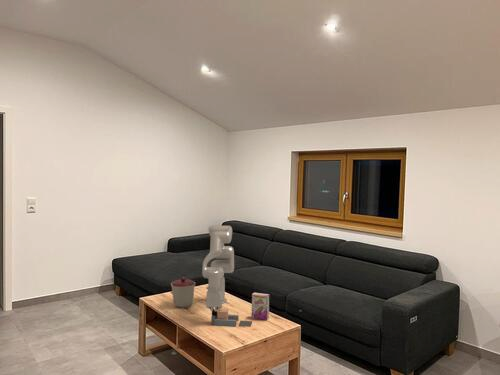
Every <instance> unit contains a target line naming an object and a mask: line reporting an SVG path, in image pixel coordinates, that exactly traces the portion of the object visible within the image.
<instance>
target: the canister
mask: <svg viewBox="0 0 500 375" xmlns="http://www.w3.org/2000/svg"><path fill="white" fill-rule="evenodd" d="M170 286H171V292H172V300H173V304H174V306H175V307H177V308H188V307H190V306H192V304H193V301H194V295H195V294H194V293H195V286H196V282H195V281H194V280H192V279H189V278H188V279H186V277H185V276H182V277H180V279H177V280H174V281H172V282H171V283H170Z"/></svg>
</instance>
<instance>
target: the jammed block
mask: <svg viewBox="0 0 500 375" xmlns="http://www.w3.org/2000/svg"><path fill="white" fill-rule="evenodd" d="M228 314H229V308H223V307H222V308H220V309H218V310H217V319H228Z"/></svg>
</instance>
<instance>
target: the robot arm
mask: <svg viewBox="0 0 500 375" xmlns="http://www.w3.org/2000/svg"><path fill="white" fill-rule="evenodd" d="M208 235H209V236H210V243H209V244H210V245H209V247H210V248H209V253H208V254H207V255H206V256H205V258H204V260H203V262H202V267H201V268H202V271H201V272H202V273H201V275H202V277H203V278H204V279H207V280H208V284H207V286H206V287H205V288H206V290H207V292H206V297H205V308H207V309H209V310H210V311H211V317H212V316H216V315H217V311H218V310H219V309H220V308H223V305H222V304H226V303H227V301H228V300H227V298H226V296H225V295H226V293H225V292H226V290H225V289H226V284H225V283H226V278H225V276H224V275H225V274H232V273H233V272H234V270H235V250H234V247H232V245H231V246H230V245H225V244H230V243H231V241H232V238H233V228H232V226H231V225H210V226H209V227H208ZM213 259H216V260H213ZM211 260H213V261H211ZM210 261H211V264H210V266H208V264H209V262H210Z"/></svg>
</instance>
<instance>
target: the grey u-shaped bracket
mask: <svg viewBox="0 0 500 375" xmlns="http://www.w3.org/2000/svg"><path fill="white" fill-rule="evenodd" d="M210 319H211V324H210V325H211V326H220V327H222V326H224V327H237V322H239V320H240V319H239V314H229V313H228V319H217V315H216V316H212V315H211V318H210Z"/></svg>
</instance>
